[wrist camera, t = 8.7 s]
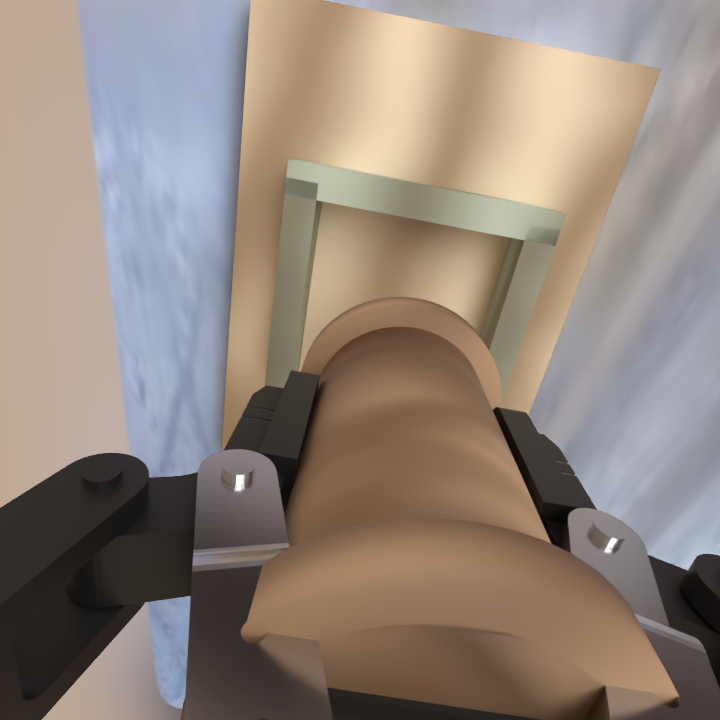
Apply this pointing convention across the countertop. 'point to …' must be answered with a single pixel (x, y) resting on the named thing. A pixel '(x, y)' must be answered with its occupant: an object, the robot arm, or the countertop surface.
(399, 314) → the wooden bobbin
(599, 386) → the countertop surface
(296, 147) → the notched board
